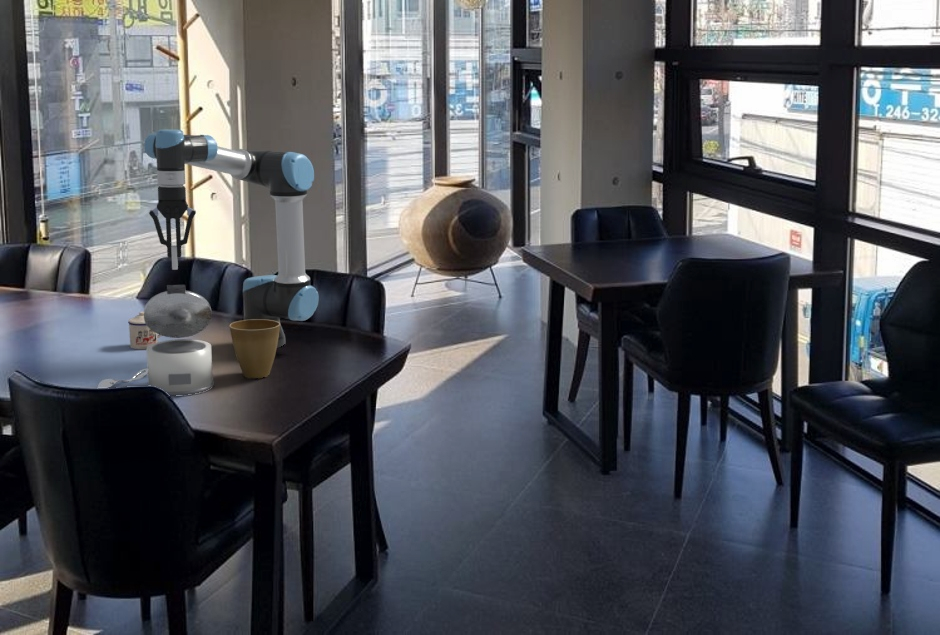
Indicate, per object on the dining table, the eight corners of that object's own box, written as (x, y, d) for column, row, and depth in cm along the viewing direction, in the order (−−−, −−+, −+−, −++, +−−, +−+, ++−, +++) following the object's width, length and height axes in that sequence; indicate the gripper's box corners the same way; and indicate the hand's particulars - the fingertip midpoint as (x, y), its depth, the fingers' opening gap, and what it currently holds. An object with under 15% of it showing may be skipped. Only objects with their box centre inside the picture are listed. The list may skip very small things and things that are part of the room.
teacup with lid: (135, 351, 357) (133, 316, 354) (125, 345, 364) (123, 311, 361) (170, 346, 364) (169, 312, 361) (160, 340, 371) (159, 306, 368)
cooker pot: (213, 376, 330) (211, 337, 327) (214, 394, 312) (212, 353, 310) (148, 379, 326) (146, 340, 323) (146, 398, 308) (144, 357, 305)
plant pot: (291, 375, 332) (290, 324, 329) (251, 385, 322) (249, 332, 318) (261, 365, 342) (259, 316, 338) (221, 375, 331) (219, 324, 328)
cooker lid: (212, 336, 328) (212, 332, 329) (210, 287, 312) (210, 283, 313) (146, 339, 323) (146, 335, 324) (141, 289, 308) (141, 285, 309)
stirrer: (140, 361, 332) (153, 363, 330) (141, 372, 333) (154, 374, 331) (93, 381, 315) (105, 384, 313) (94, 393, 316) (107, 395, 314)
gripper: (146, 187, 302) (150, 271, 307) (195, 186, 305) (198, 270, 310) (147, 184, 309) (151, 267, 314) (195, 184, 312) (198, 266, 317)
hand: (175, 268), depth 312 cm, fingers closed
